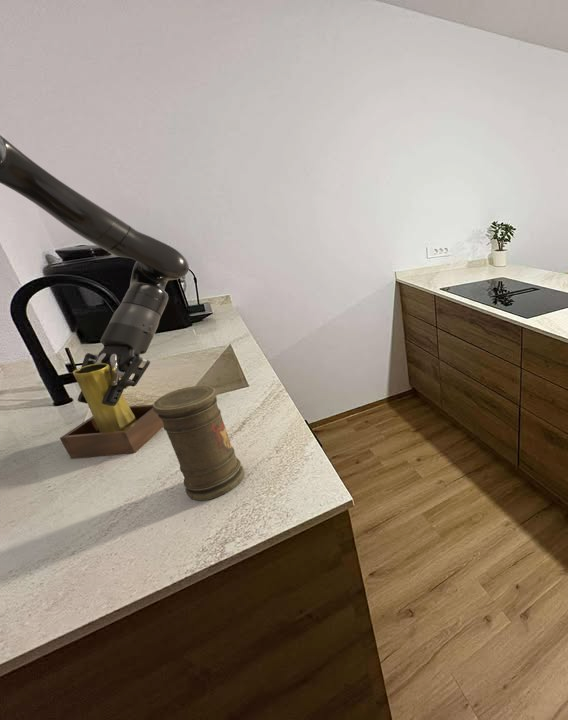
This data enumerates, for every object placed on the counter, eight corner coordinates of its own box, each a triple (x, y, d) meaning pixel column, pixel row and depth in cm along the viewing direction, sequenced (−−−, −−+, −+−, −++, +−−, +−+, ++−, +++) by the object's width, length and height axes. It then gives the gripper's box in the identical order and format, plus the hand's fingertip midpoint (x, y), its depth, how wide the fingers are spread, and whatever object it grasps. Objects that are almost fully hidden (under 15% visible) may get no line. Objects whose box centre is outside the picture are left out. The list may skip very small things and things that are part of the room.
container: (203, 507, 63) (166, 416, 56) (176, 489, 67) (139, 401, 60) (255, 476, 70) (228, 391, 63) (228, 461, 74) (200, 379, 67)
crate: (70, 458, 75) (59, 438, 73) (113, 426, 86) (104, 407, 84) (134, 452, 77) (125, 432, 75) (169, 422, 87) (161, 403, 85)
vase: (133, 431, 79) (104, 371, 73) (95, 439, 77) (62, 377, 71) (141, 417, 84) (115, 359, 78) (106, 424, 82) (77, 365, 76)
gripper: (86, 319, 79) (45, 396, 73) (143, 322, 77) (105, 401, 71) (122, 334, 86) (87, 405, 80) (175, 337, 84) (143, 411, 78)
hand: (96, 403), depth 76 cm, fingers closed on vase, 5 cm apart
